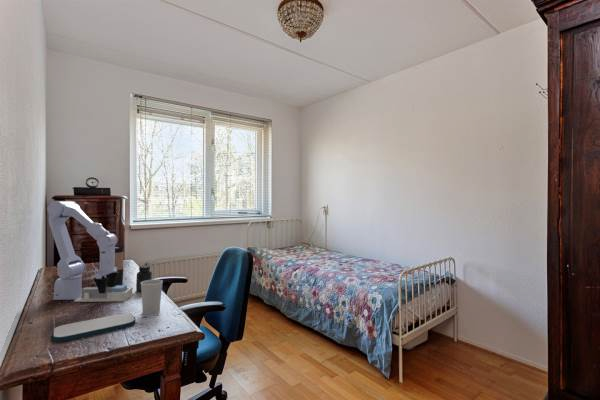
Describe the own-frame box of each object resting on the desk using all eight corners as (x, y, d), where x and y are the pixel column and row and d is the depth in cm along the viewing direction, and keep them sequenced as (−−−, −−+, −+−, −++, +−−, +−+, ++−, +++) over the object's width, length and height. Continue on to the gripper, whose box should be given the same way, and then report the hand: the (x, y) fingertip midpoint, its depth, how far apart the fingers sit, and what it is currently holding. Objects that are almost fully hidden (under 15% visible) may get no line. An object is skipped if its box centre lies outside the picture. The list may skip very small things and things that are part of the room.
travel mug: (102, 286, 155) (103, 247, 155) (116, 283, 162) (117, 245, 162) (112, 288, 152) (113, 248, 152) (126, 284, 159) (127, 246, 159)
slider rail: (74, 301, 132) (74, 293, 132) (86, 295, 141) (86, 287, 141) (124, 301, 134) (124, 292, 134) (133, 294, 143) (133, 287, 143)
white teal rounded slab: (52, 345, 94) (52, 339, 94) (52, 332, 103) (52, 326, 103) (137, 326, 109) (137, 321, 109) (130, 316, 118) (131, 311, 118)
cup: (140, 316, 117) (140, 285, 117) (140, 309, 124) (140, 280, 124) (162, 313, 121) (163, 283, 121) (161, 307, 128) (162, 278, 128)
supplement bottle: (145, 293, 146) (145, 268, 146) (132, 292, 147) (133, 267, 147) (154, 289, 153) (155, 265, 153) (142, 288, 154) (143, 264, 154)
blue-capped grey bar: (80, 298, 134) (80, 288, 134) (86, 295, 139) (86, 285, 139) (122, 298, 136) (122, 288, 136) (126, 295, 141) (126, 285, 141)
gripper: (108, 264, 131) (107, 295, 131) (124, 257, 145) (123, 285, 145) (90, 264, 130) (90, 295, 130) (108, 257, 145) (107, 286, 145)
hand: (106, 290), depth 138 cm, fingers open, 7 cm apart
